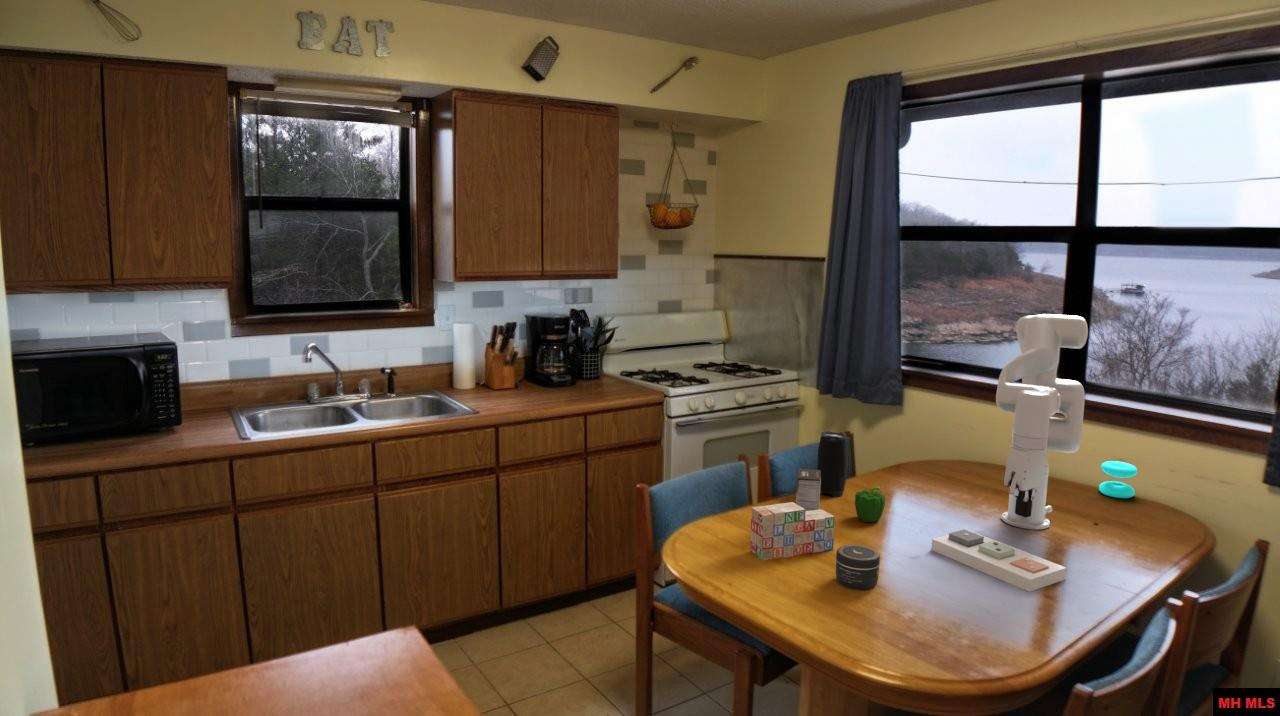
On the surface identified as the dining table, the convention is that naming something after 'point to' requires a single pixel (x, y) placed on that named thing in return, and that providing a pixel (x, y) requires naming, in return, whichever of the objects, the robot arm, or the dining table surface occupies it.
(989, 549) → the tile two
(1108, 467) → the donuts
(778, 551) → the stack of blocks
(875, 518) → the bell pepper
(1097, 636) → the dining table surface
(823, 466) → the portable speaker
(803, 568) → the dining table surface
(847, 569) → the jar
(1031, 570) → the tile three
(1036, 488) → the robot arm
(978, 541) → the tile one
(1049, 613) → the dining table surface
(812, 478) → the coffee box
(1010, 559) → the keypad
